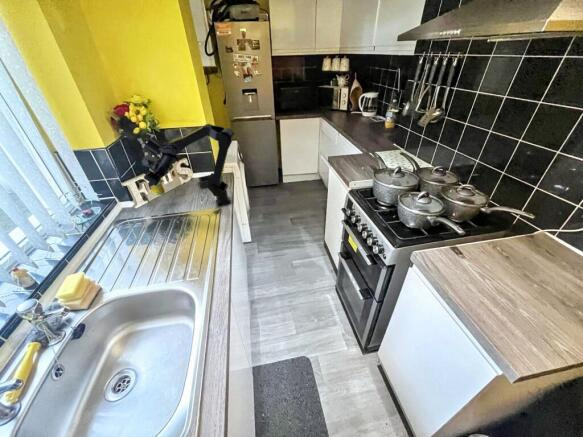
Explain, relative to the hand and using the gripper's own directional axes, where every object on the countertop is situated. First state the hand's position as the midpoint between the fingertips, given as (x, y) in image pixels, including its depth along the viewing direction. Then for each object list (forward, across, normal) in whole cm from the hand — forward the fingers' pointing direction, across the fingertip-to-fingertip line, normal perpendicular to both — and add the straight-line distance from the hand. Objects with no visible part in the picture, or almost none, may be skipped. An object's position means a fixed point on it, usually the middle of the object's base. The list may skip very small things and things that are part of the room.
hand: (152, 182), depth 124 cm
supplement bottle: (+4, 0, +6) cm, 7 cm away
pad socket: (-4, -22, +22) cm, 31 cm away
